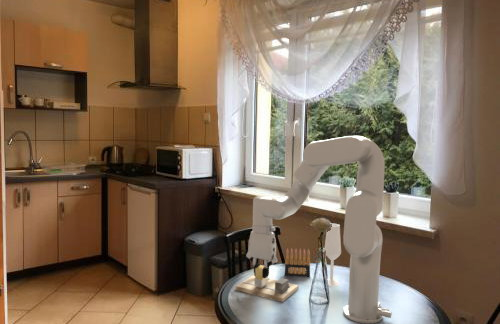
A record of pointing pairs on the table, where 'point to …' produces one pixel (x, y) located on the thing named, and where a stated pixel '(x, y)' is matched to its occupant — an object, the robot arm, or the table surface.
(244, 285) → the board
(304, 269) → the ammunition clip
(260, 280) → the sliding leg
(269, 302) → the table surface
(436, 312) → the table surface
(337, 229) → the champagne flute
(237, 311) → the table surface
